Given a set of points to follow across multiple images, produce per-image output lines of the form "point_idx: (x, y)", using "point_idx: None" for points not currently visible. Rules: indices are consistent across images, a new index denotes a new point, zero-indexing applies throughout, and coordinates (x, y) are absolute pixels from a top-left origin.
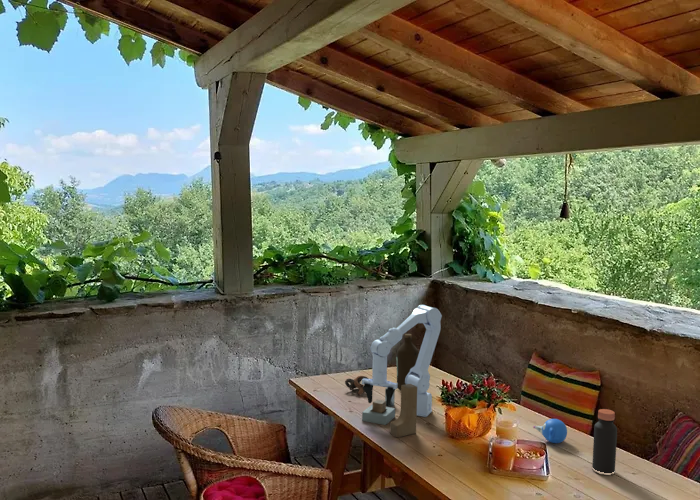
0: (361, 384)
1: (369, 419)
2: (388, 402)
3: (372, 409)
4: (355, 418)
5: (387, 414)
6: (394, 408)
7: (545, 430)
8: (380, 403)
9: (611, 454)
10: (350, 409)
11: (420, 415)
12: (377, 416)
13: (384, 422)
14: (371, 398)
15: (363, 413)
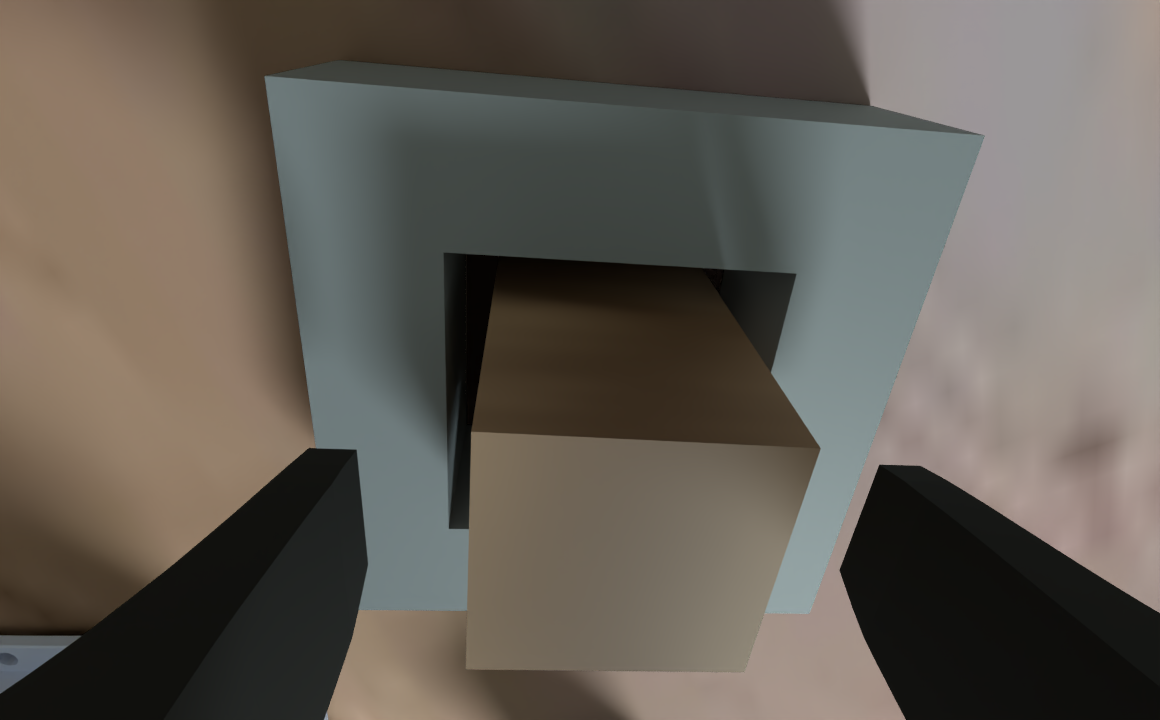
0: None
1: (727, 98)
2: (230, 536)
3: None
4: (1010, 176)
5: (300, 235)
6: None
7: None
8: (536, 453)
9: None
10: (1094, 499)
11: (43, 643)
12: (533, 90)
13: (354, 64)
14: (905, 635)
15: (931, 124)
